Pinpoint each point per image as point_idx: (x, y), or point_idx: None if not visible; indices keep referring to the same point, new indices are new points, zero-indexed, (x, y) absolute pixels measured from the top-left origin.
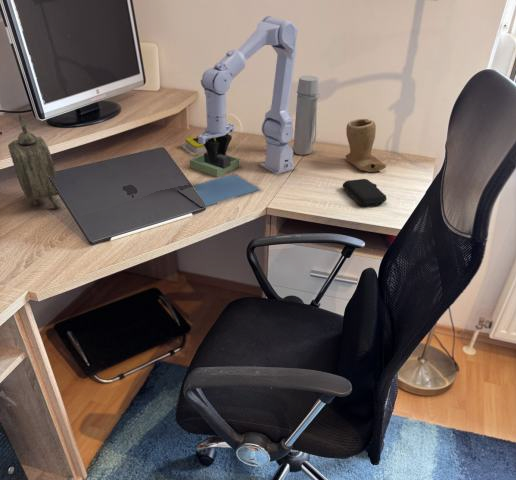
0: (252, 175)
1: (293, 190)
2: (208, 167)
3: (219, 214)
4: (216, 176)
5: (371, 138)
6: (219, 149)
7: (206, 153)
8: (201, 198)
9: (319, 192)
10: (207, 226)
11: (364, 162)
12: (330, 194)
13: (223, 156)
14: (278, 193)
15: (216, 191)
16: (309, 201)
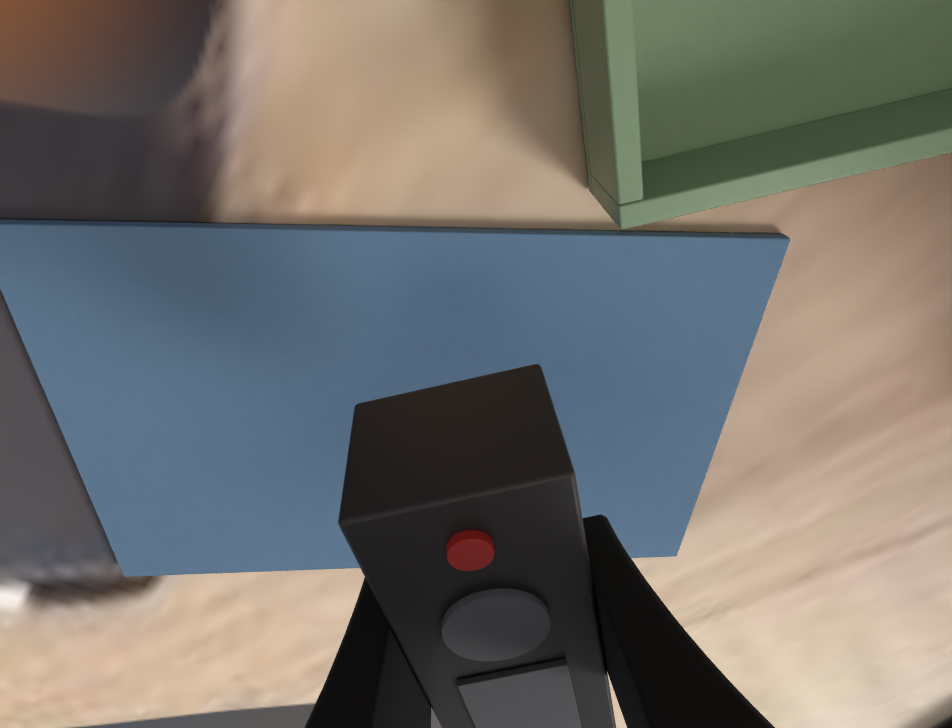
0: (889, 337)
1: (817, 625)
2: (600, 53)
3: (218, 654)
4: (591, 187)
5: None
6: (622, 677)
7: (381, 546)
8: (179, 484)
9: (879, 682)
10: (84, 709)
11: None
12: (887, 708)
13: (539, 721)
14: (720, 617)
15: None
16: None
